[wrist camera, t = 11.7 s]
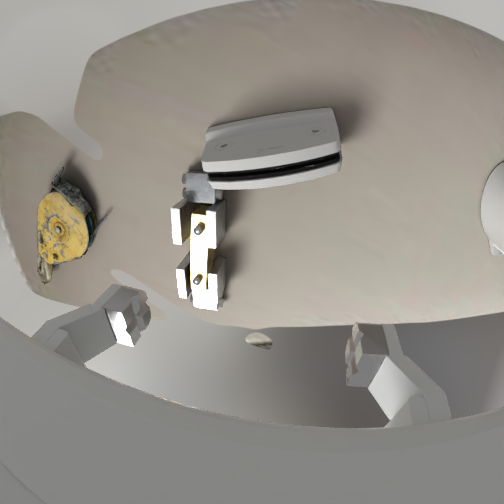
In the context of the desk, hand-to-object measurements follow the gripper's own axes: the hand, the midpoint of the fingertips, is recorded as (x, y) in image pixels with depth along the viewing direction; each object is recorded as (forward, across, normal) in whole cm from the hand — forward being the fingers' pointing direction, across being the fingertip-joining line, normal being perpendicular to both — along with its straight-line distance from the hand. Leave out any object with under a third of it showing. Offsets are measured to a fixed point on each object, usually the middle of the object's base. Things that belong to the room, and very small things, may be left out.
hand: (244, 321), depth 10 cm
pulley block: (+27, +44, +13) cm, 53 cm away
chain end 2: (+27, +12, +18) cm, 35 cm away
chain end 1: (+27, +11, +4) cm, 30 cm away
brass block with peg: (+28, +11, +11) cm, 32 cm away
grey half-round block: (+28, +2, -4) cm, 28 cm away
